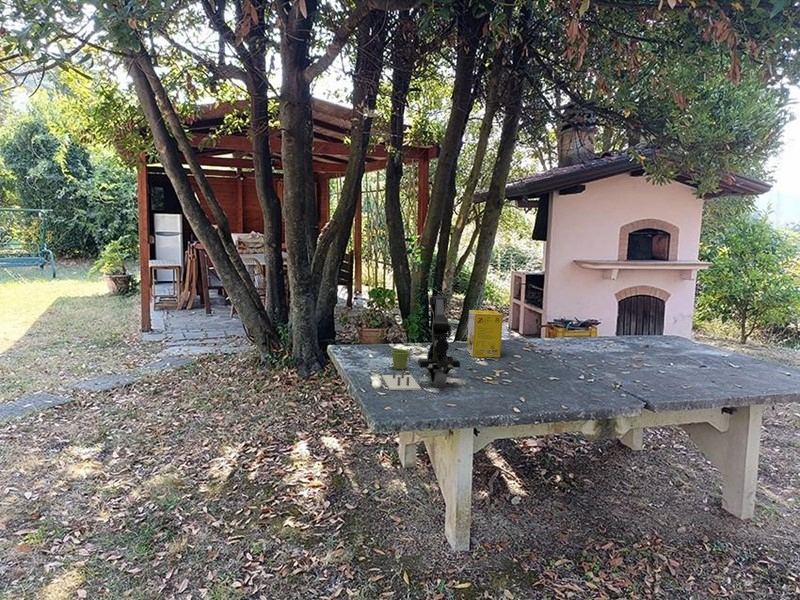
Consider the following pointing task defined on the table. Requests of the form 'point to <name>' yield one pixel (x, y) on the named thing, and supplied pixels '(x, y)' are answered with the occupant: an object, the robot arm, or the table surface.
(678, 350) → the table surface
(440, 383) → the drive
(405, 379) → the peg board
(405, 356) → the plant pot
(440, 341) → the robot arm
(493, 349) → the packaging box
